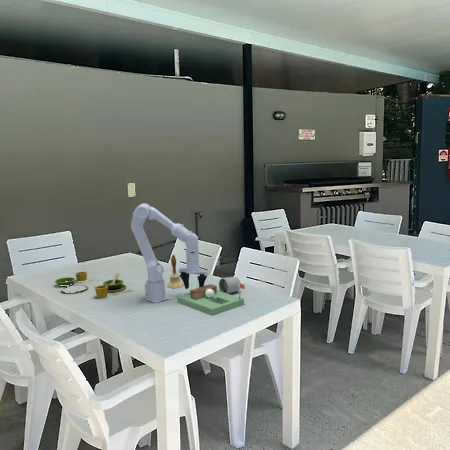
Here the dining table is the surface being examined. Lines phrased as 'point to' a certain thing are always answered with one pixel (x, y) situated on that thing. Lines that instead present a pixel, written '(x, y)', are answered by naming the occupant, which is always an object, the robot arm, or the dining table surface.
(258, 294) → the dining table surface
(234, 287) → the ceramic mug
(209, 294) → the golf ball
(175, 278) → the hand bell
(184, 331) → the dining table surface
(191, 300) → the putting deck
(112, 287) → the tableware set
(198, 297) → the block
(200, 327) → the dining table surface
